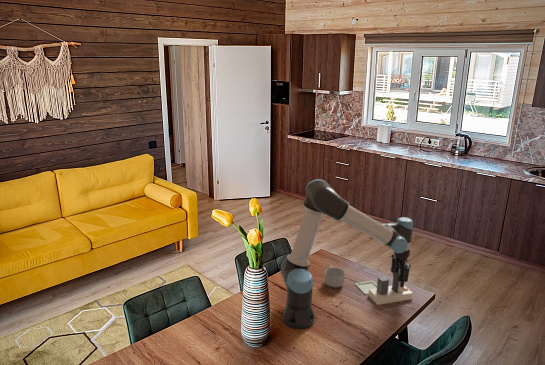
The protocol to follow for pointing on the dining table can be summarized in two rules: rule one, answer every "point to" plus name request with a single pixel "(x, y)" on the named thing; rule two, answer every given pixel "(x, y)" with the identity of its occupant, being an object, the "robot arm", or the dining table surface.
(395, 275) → the plug
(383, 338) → the dining table surface
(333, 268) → the teacup
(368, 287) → the tray
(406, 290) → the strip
